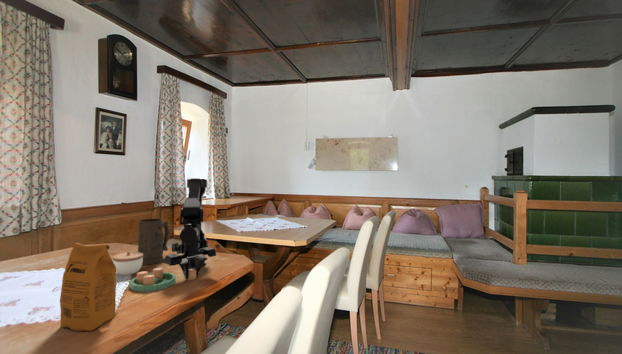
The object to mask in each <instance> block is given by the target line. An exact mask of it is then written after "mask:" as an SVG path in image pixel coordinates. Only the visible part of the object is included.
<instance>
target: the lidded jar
mask: <svg viewBox="0 0 622 354" xmlns="http://www.w3.org/2000/svg"><path fill="white" fill-rule="evenodd" d="M112 261H113V263H114V264H115V267H116V274H117V275H120V276H128V275H133V274H137V273H138V272H140V270H141V269H142V266H143V265H144V264H143V253H141V252H138V251H130V250H127V251H126V252H122V253H121V252H120V253H118V254H115V255H113V256H112Z"/></svg>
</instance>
